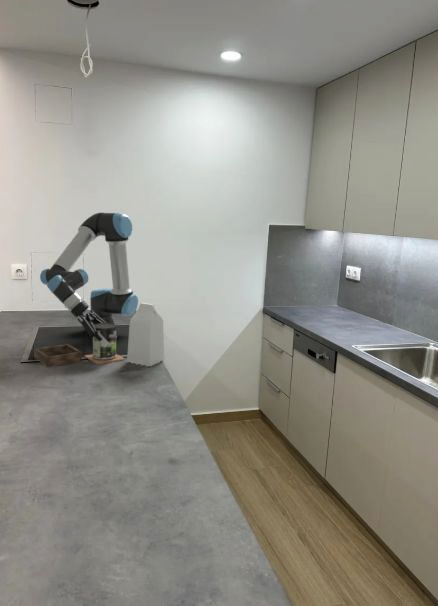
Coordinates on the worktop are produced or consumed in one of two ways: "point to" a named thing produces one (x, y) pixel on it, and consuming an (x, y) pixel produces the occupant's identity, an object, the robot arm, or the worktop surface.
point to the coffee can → (110, 335)
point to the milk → (146, 336)
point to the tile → (100, 361)
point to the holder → (57, 355)
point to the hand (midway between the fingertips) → (111, 342)
